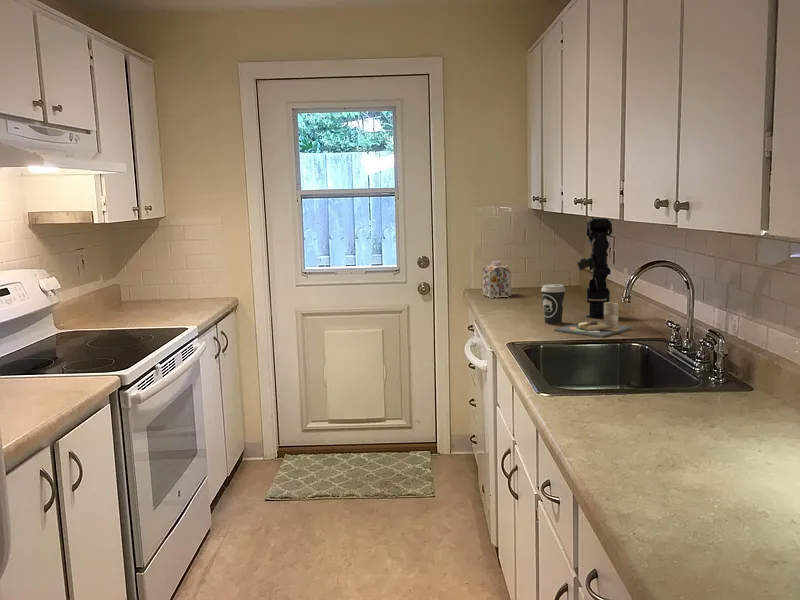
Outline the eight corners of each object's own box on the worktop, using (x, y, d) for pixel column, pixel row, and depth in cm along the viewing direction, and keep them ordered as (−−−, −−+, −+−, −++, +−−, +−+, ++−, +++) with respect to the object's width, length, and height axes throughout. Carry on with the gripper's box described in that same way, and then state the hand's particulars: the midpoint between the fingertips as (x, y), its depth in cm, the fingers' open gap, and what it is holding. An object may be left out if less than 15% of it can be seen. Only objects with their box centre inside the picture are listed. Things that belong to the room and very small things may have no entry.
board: (584, 323, 271) (584, 320, 271) (631, 329, 256) (631, 326, 256) (554, 331, 258) (554, 328, 257) (601, 337, 243) (601, 334, 243)
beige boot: (569, 329, 254) (569, 302, 253) (587, 324, 263) (588, 298, 261) (606, 334, 243) (606, 306, 242) (624, 328, 252) (624, 301, 250)
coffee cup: (566, 325, 269) (566, 286, 267) (541, 324, 271) (540, 287, 269) (565, 320, 278) (565, 283, 276) (541, 320, 280) (540, 284, 278)
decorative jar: (482, 295, 357) (481, 261, 355) (503, 294, 359) (503, 260, 357) (489, 298, 345) (489, 263, 343) (511, 297, 348) (511, 262, 345)
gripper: (576, 249, 276) (575, 287, 278) (580, 252, 258) (579, 294, 260) (605, 248, 274) (604, 287, 276) (610, 252, 256) (610, 294, 258)
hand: (599, 290), depth 268 cm, fingers closed
